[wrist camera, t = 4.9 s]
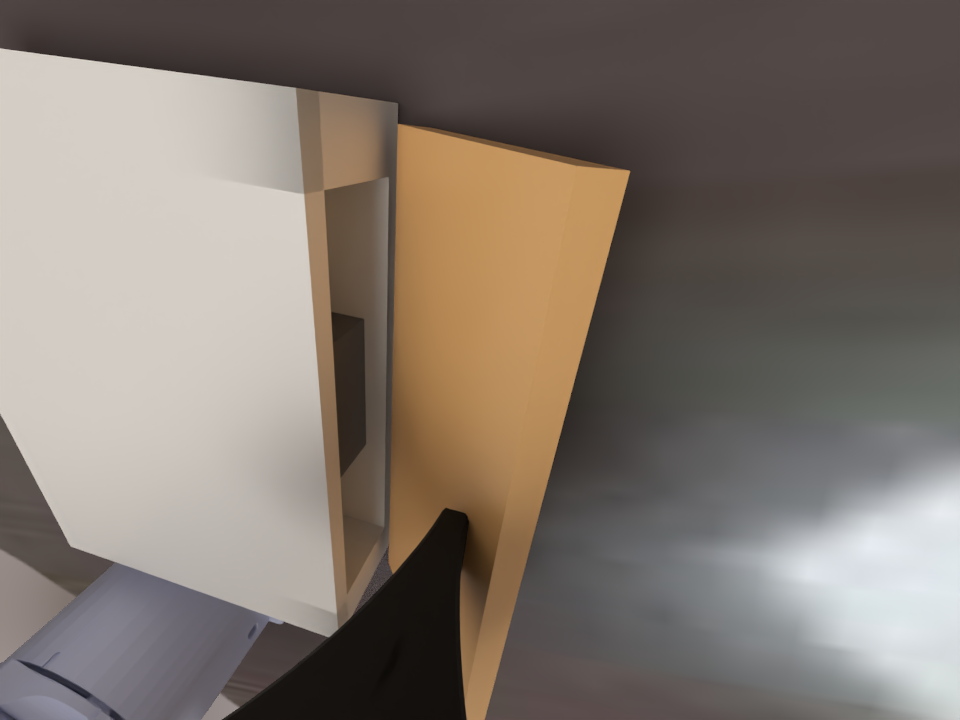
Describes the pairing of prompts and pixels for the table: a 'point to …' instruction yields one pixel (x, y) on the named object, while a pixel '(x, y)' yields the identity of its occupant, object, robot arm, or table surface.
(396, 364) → the door
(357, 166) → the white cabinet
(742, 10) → the table surface
